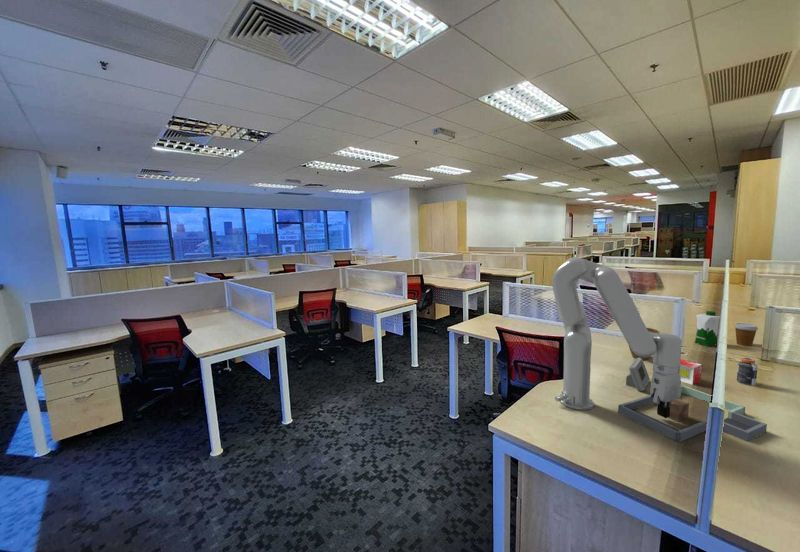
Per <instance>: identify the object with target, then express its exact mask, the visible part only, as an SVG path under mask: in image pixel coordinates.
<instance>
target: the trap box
mask: <svg viewBox="0 0 800 552" xmlns="http://www.w3.org/2000/svg"><path fill="white" fill-rule="evenodd" d="M681 394H684V395H687V396H689V397H693V398H696V399H698V400H701V401H703V400H705V401H704V402H706V401H707V402H706V403H709V404H711V403H710V401H711V396H713V395H711V394H710V393H709V394H708V393H706V392H703V391H701V390H698V389H694V388H692V387H689V386H686V385H684V384H681ZM653 399H654V398H652V397H651V394H649V395H646V396H642V397H640V398H637V399H633V400H631V401H627V402H624V403H620V404H618V406H617V407H618V409H617V413H619V414H621V415H623V416H625V417H627V418H629V419H630V420H633V421H635V422H637V423H639V424H641V425H643V426H645V427H647V428H649V429H650V430H653V431H655V432H657V433H659V434H661V435H663V436H665V437H667V438H669V439H672V440H673V441H675V442H677V443H680V442H682V441H685V440H687V439H690V438H693V437H695V436H696V434H697V435H699V434H698V433H700V432H702V431H704V432H706V424H707V419H706V420H702V421H700V422H698V423H695V424H693V425H690V426H688V427H685V428H683V429H680V430H679V429H677V428H675V427H674V426H671V425H669V424H667V423H665V422H662V421H661V420H659V419H656V418H654V417H652V416H649V415H648V414H646V413H643V412H641V411H639V410H637V409H639V408H642V407H645V406H647V405H651V404H654V403H653ZM724 400H725V408H724V409H726V410H728V409H730V410H728V411H727V417H726V418H724V427H723V431H722V432H724V433H726V434H729V435H730V434H731V436H733V437H736V438H738V439H740V440H742V441H745V442H749V441H751V440H753V439H755V438H757V437H759V436H761V435H760V434H762V435H764V434H766V433H767V428H768V427H767V426H768V424H767V423H765V422H762V421H759V420H756V419H755V418H751V417H749V416H746V415H745V414H746V406H743V405H741V404H738V403H735V402H732V401H729V400H727V399H724ZM765 432H766V433H765ZM702 433H703V432H702ZM763 433H764V434H763ZM700 434H701V433H700ZM694 435H695V436H694ZM758 435H759V436H758ZM756 436H757V437H756ZM752 438H753V439H752Z"/></svg>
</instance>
